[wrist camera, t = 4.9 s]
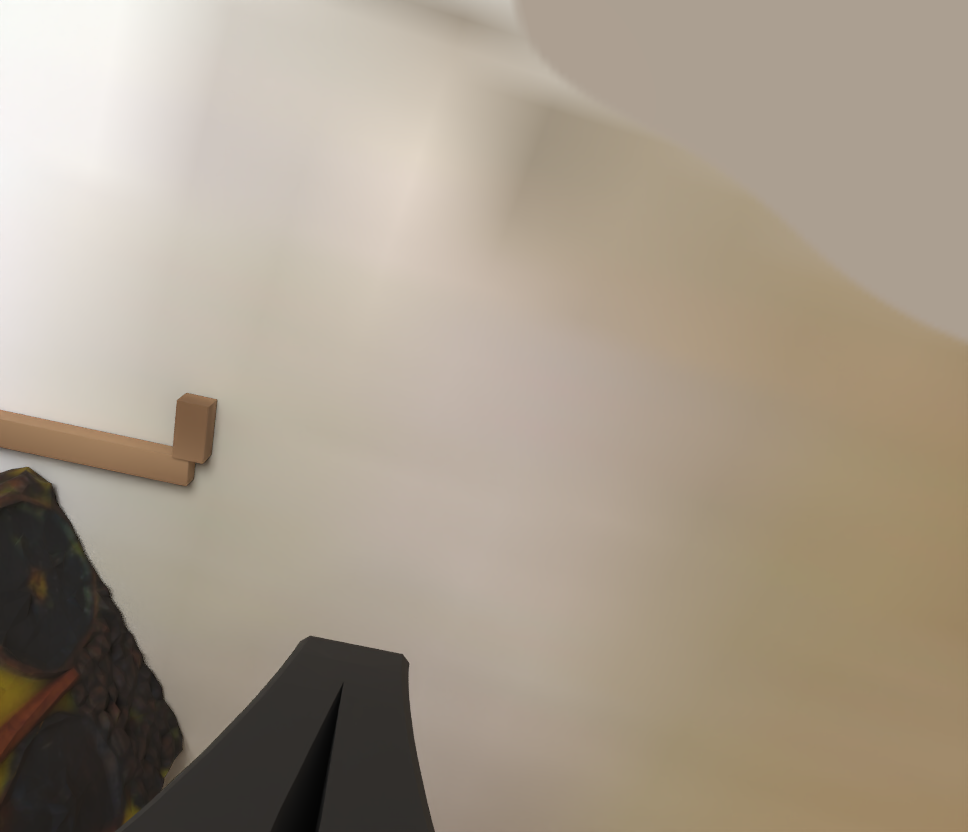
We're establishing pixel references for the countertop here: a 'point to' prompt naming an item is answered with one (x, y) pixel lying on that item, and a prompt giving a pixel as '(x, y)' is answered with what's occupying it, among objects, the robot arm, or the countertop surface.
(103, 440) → the track
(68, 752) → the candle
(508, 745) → the countertop surface
